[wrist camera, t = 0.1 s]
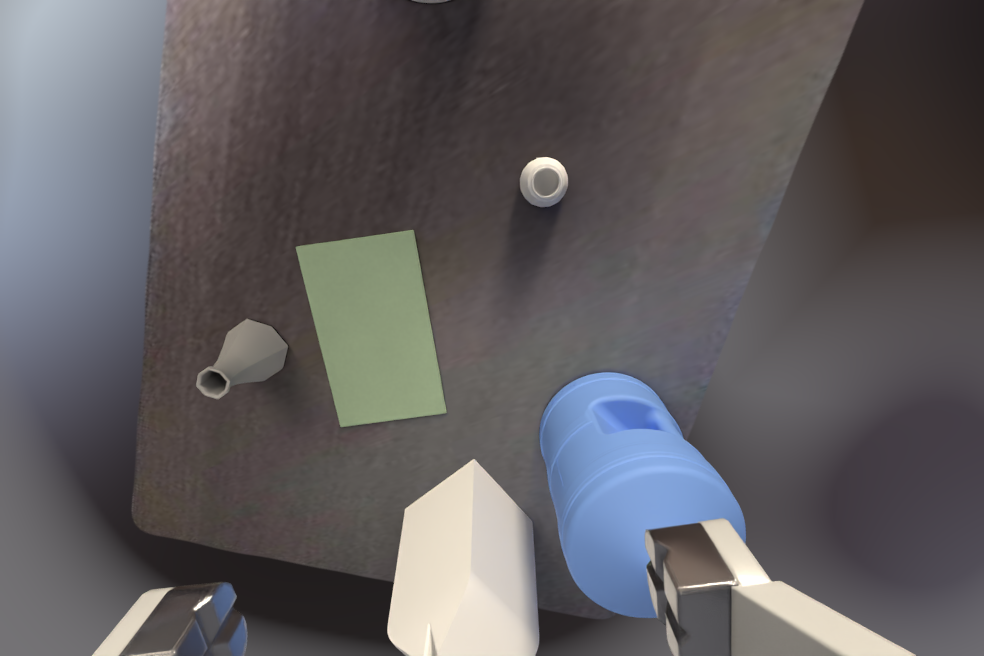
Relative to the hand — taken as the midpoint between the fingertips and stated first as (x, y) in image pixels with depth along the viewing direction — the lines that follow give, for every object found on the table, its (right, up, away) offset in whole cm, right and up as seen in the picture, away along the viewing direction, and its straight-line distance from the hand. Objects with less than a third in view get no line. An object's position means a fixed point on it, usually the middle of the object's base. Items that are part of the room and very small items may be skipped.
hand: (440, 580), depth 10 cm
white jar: (+6, +20, +44) cm, 49 cm away
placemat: (-12, +4, +49) cm, 50 cm away
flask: (-26, +2, +49) cm, 56 cm away
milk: (-2, -19, +56) cm, 59 cm away
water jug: (+15, -7, +53) cm, 55 cm away
